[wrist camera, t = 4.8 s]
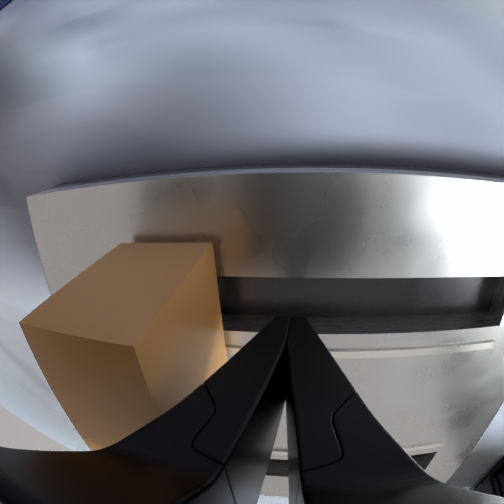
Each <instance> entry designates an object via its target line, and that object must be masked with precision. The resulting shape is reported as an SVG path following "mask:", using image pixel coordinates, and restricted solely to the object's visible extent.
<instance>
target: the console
mask: <svg viewBox="0 0 504 504" xmlns="http://www.w3.org/2000/svg"><path fill="white" fill-rule="evenodd" d="M26 200H27V205H28V210H29V215H30V220H31V224H32V229H33V233H34V237H35V241H36V245H37V249H38V253H39V256H40V260H41V263H42V267H43V270H44V274H45V277H46V280H47V283H48V286H49V289H50V292H51V295H53V294H54V293H55V292H57V291H58V290H59V289H61V288H62V287H63V286H64V285H66V284H67V283H68V282H69V281H71V280H72V279H73V278H75V277H76V276H77V275H79V274H80V273H81V272H83V271H84V270H85V269H86V268H88V267H89V266H90V265H92V264H93V263H95V262H96V261H97V260H99V259H100V258H101V257H103V256H104V255H105V254H107V253H108V252H109V251H111V250H112V249H114V248H115V247H116V246H118V245H119V244H121V243H213V249H214V258H215V267H216V275H217V284H218V292H219V300H220V308H221V316H222V323H223V331H224V338H225V345H226V353H227V360H229V359H230V358H231V357H232V356H233V355H235V354H236V353H237V352H238V351H239V350H240V349H241V348H242V347H243V346H244V345H245V344H247V343H248V342H249V341H250V340H251V339H252V338H253V337H254V336H255V335H256V334H257V333H258V332H259V331H260V330H262V329H263V328H264V327H265V326H266V325H267V324H268V323H269V322H270V321H271V320H272V319H273V318H274V317H276V316H289V317H293V316H296V317H306V318H307V320H308V321H309V323H310V324H311V325H312V327H313V328H314V330H315V331H316V333H317V334H318V336H319V337H320V339H321V340H322V342H323V343H324V344H325V346H326V347H327V349H328V350H329V352H330V353H331V355H332V356H333V358H334V359H335V361H336V362H337V363H338V365H339V366H340V368H341V369H342V371H343V372H344V374H345V375H346V377H347V378H348V380H349V381H350V383H351V384H352V386H353V387H354V389H355V390H356V392H357V393H358V394H359V396H360V397H361V399H362V400H363V402H364V403H365V404H366V406H367V407H368V408H369V410H370V411H371V413H372V414H373V415H374V417H375V418H376V419H377V420H378V421H379V422H380V424H381V425H382V426H383V427H384V428H385V429H386V430H387V432H388V433H389V434H390V435H391V436H392V437H393V438H394V439H395V440H396V441H397V442H398V443H399V445H400V446H401V447H402V448H403V449H404V450H405V451H406V452H407V453H408V454H409V455H410V456H411V457H412V458H413V460H414V461H415V462H416V463H417V464H418V465H419V466H420V467H421V468H422V469H423V470H424V471H425V472H427V473H428V474H429V475H430V476H432V477H434V478H435V479H437V480H439V481H441V482H443V483H446V482H447V481H448V479H449V478H450V477H451V476H452V475H453V473H454V472H455V471H456V470H457V469H458V467H459V466H460V465H461V464H462V462H463V461H464V460H465V458H466V457H467V456H468V454H469V453H470V452H471V450H472V449H473V448H474V446H475V445H476V443H477V442H478V441H479V439H480V438H481V436H482V435H483V433H484V432H485V430H486V429H487V427H488V426H489V424H490V423H491V421H492V420H493V418H494V417H495V415H496V413H497V412H498V410H499V408H500V407H501V405H502V403H503V402H504V176H501V175H494V174H486V173H477V172H468V171H459V170H448V169H437V168H424V167H409V166H391V165H366V164H268V165H242V166H223V167H208V168H194V169H181V170H170V171H160V172H150V173H141V174H132V175H124V176H116V177H108V178H101V179H94V180H87V181H81V182H74V183H68V184H62V185H57V186H54V187H51V188H49V189H46V190H43V191H40V192H38V193H35V194H32V195H30V196H27V197H26ZM260 495H270V496H284V497H289V483H288V450H287V423H286V400H285V405H284V409H283V413H282V417H281V420H280V424H279V428H278V432H277V436H276V439H275V443H274V447H273V450H272V454H271V458H270V461H269V465H268V468H267V472H266V475H265V478H264V482H263V485H262V488H261V492H260Z"/></svg>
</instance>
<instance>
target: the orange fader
mask: <svg viewBox="0 0 504 504" xmlns="http://www.w3.org/2000/svg"><path fill="white" fill-rule="evenodd" d="M19 324H20V326H21V328H22V331H23V333H24V335H25V337H26V340H27V342H28V344H29V346H30V348H31V350H32V352H33V354H34V357H35V359H36V361H37V363H38V365H39V366H40V368H41V370H42V372H43V374H44V376H45V378H46V380H47V382H48V383H49V385H50V387H51V389H52V391H53V392H54V394H55V396H56V397H57V399H58V401H59V403H60V404H61V406H62V408H63V409H64V411H65V412H66V414H67V416H68V417H69V419H70V420H71V422H72V423H73V425H74V426H75V428H76V429H77V431H78V432H79V434H80V435H81V437H82V438H83V440H84V441H85V442H86V444H87V445H88V447H89V448H90V449H91V450H93V451H94V450H99V449H102V448H106V447H108V446H110V445H113V444H115V443H117V442H118V441H120V440H122V439H123V438H125V437H127V436H128V435H130V434H132V433H133V432H135V431H137V430H138V429H140V428H141V427H143V426H145V425H146V424H148V423H149V422H151V421H153V420H154V419H156V418H157V417H159V416H160V415H162V414H163V413H165V412H166V411H168V410H169V409H171V408H172V407H173V406H175V405H176V404H178V403H179V402H180V401H181V400H183V399H184V398H185V397H186V396H188V395H189V394H190V393H191V392H193V391H194V390H195V389H196V388H197V387H198V386H200V385H201V384H203V383H204V381H205V380H207V379H208V378H209V377H210V376H211V375H212V374H213V373H215V372H216V371H217V370H218V369H219V368H220V367H221V366H222V365H224V364H225V363H226V362H227V361H228V360H227V353H226V345H225V338H224V331H223V323H222V316H221V308H220V300H219V292H218V284H217V275H216V267H215V258H214V249H213V243H121V244H119V245H118V246H116V247H115V248H114V249H112V250H111V251H109V252H108V253H107V254H105V255H104V256H103V257H101V258H100V259H99V260H97V261H96V262H95V263H93V264H92V265H90V266H89V267H88V268H86V269H85V270H84V271H83V272H81V273H80V274H79V275H77V276H76V277H75V278H73V279H72V280H71V281H69V282H68V283H67V284H66V285H64V286H63V287H62V288H61V289H59V290H58V291H57V292H55V293H54V294H53V295H52V296H50V297H49V298H48V299H47V300H46V301H44V302H43V303H42V304H41V305H39V306H38V307H37V308H36V309H35V310H33V311H32V312H31V313H30V314H29V315H27V316H26V317H25V318H24V319H23V320H21V321H20V322H19Z"/></svg>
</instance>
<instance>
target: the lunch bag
mask: <svg viewBox="0 0 504 504" xmlns="http://www.w3.org/2000/svg"><path fill="white" fill-rule="evenodd" d="M8 1H10V0H0V8H1V7H2V6H4V5H5V4H6V3H7V2H8Z"/></svg>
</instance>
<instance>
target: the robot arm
mask: <svg viewBox="0 0 504 504" xmlns="http://www.w3.org/2000/svg"><path fill="white" fill-rule="evenodd" d="M285 400H286V423H287V450H288V483H289V504H504V458H503V459H502V460H501V461H500V462H499V463H498V464H497V465H496V466H495V468H494V469H493V470H492V471H491V472H490V473H489V474H488V475H487V476H486V478H485V479H484V480H483V481H482V482H481V483H480V484H479V485H478V486H477V487H476V488H475V489H474V490H473V491H472V490H468V489H464V488H460V487H457V486H453V485H449V484H446V483H443V482H441V481H439V480H437V479H435V478H434V477H432V476H430V475H429V474H428V473H427V472H425V471H424V470H423V469H422V468H421V467H420V466H419V465H418V464H417V463H416V462H415V461H414V460H413V458H412V457H411V456H410V455H409V454H408V453H407V452H406V451H405V450H404V449H403V448H402V447H401V446H400V445H399V443H398V442H397V441H396V440H395V439H394V438H393V437H392V436H391V435H390V434H389V433H388V432H387V430H386V429H385V428H384V427H383V426H382V425H381V424H380V422H379V421H378V420H377V419H376V418H375V417H374V415H373V414H372V413H371V411H370V410H369V408H368V407H367V406H366V404H365V403H364V402H363V400H362V399H361V397H360V396H359V394H358V393H357V392H356V390H355V389H354V387H353V386H352V384H351V383H350V381H349V380H348V378H347V377H346V375H345V374H344V372H343V371H342V369H341V368H340V366H339V365H338V363H337V362H336V361H335V359H334V358H333V356H332V355H331V353H330V352H329V350H328V349H327V347H326V346H325V344H324V343H323V342H322V340H321V339H320V337H319V336H318V334H317V333H316V331H315V330H314V328H313V327H312V325H311V324H310V323H309V321H308V320H307V318H306V317H296V316H293V317H289V316H276V317H274V318H273V319H272V320H271V321H270V322H269V323H268V324H267V325H266V326H265V327H264V328H263V329H262V330H260V331H259V332H258V333H257V334H256V335H255V336H254V337H253V338H252V339H251V340H250V341H249V342H248V343H247V344H245V345H244V346H243V347H242V348H241V349H240V350H239V351H238V352H237V353H236V354H235V355H233V356H232V357H231V358H230V359H229V360H228V361H227V362H226V363H225V364H224V365H222V366H221V367H220V368H219V369H218V370H217V371H216V372H215V373H213V374H212V375H211V376H210V377H209V378H208V379H207V380H205V381H204V383H203V384H201V385H200V386H198V387H197V388H196V389H195V390H194V391H193V392H191V393H190V394H189V395H188V396H186V397H185V398H184V399H183V400H181V401H180V402H179V403H178V404H176V405H175V406H173V407H172V408H171V409H169V410H168V411H166V412H165V413H163V414H162V415H160V416H159V417H157V418H156V419H154V420H153V421H151V422H149V423H148V424H146V425H145V426H143V427H141V428H140V429H138V430H137V431H135V432H133V433H132V434H130V435H128V436H127V437H125V438H123V439H122V440H120V441H118V442H117V443H115V444H113V445H110V446H108V447H106V448H102V449H99V450H94V451H38V450H23V449H12V448H5V447H0V504H257V501H258V498H259V495H260V492H261V488H262V485H263V482H264V478H265V475H266V472H267V468H268V465H269V461H270V458H271V454H272V450H273V447H274V443H275V439H276V436H277V432H278V428H279V424H280V420H281V417H282V413H283V409H284V405H285Z"/></svg>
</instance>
